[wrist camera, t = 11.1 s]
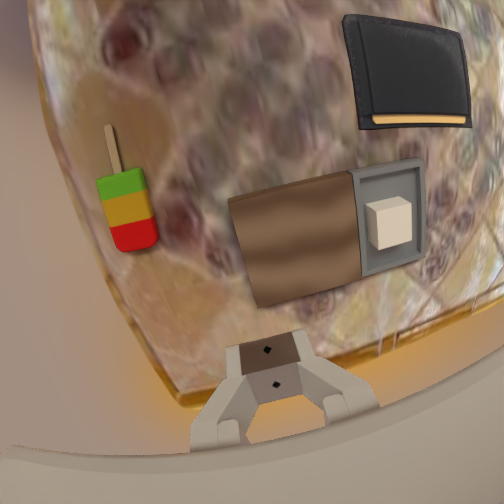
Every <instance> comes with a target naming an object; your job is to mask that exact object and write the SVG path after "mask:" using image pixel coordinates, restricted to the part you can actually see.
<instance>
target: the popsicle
mask: <svg viewBox="0 0 504 504" xmlns="http://www.w3.org/2000/svg"><path fill="white" fill-rule="evenodd" d="M104 133H105V137H106V142H107V146H108V151H109V155H110V159H111V163H112V167H113V171H114V174H113V175H110V176H106V177H103V178H100V179H97V180H96V183H97V187H98V191H99V194H100V198H101V201H102V205H103V208H104V211H105V215H106V218H107V221H108V224H109V227H110V230H111V233H112V237H113V240H114V242H115V245H116V247H117V248H118V250H120V251H121V252H130V251H135V250H140V249H145V248H149V247H152V246H154V245H155V244H156V242H157V241H158V238H159V232H158V228H157V224H156V220H155V217H154V213H153V209H152V206H151V202H150V198H149V194H148V190H147V186H146V182H145V178H144V174H143V170H142V168H140V167H138V168H135V169H131V170H127V171H124V172H123V171H122V167H121V163H120V159H119V155H118V150H117V146H116V142H115V137H114V132H113V127H112V125H111V124H108V125H105V126H104Z"/></svg>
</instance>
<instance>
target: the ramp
mask: <svg viewBox="0 0 504 504" xmlns="http://www.w3.org/2000/svg"><path fill="white" fill-rule="evenodd" d="M228 205H229V209H230V212H231V216H232V219H233V223H234V227H235V230H236V234H237V237H238V241H239V244H240V248H241V251H242V255H243V259H244V262H245V266H246V269H247V273H248V276H249V280H250V283H251V287H252V290H253V294H254V297H255V301H256V304H257V308H262V307H265V306H269V305H273V304H277V303H281V302H284V301H288V300H292V299H295V298H299V297H303V296H306V295H310V294H313V293H317V292H320V291H324V290H327V289H331V288H334V287H338V286H341V285H344V284H348V283H351V282H354V281H358V280H361V263H360V249H359V237H358V226H357V216H356V207H355V198H354V190H353V183H352V175H351V174H350V173H348V172H346V171H342V172H337V173H333V174H328V175H324V176H319V177H315V178H310V179H306V180H301V181H297V182H293V183H289V184H285V185H280V186H276V187H272V188H268V189H264V190H260V191H256V192H252V193H248V194H244V195H241V196H237V197H233V198H229V199H228Z"/></svg>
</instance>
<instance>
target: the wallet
mask: <svg viewBox="0 0 504 504" xmlns="http://www.w3.org/2000/svg"><path fill="white" fill-rule="evenodd" d="M342 27H343V33H344V38H345V43H346V47H347V52H348V57H349V62H350V68H351V74H352V80H353V88H354V95H355V103H356V110H357V117H358V126H359V130H374V129H384V128H399V127H469V128H472V121H471V96H470V85H469V76H468V69H467V62H466V55H465V50H464V45H463V40H462V38H461V36H460V34H459V33H458V32H455V31H452V30H448V29H444V28H440V27H435V26H430V25H425V24H420V23H414V22H408V21H402V20H396V19H390V18H383V17H375V16H368V15H359V14H350V15H345V16H344V18H343V20H342Z"/></svg>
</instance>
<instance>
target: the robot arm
mask: <svg viewBox="0 0 504 504" xmlns="http://www.w3.org/2000/svg"><path fill="white" fill-rule="evenodd" d="M225 359H226V378H227V379H224V380H222V382H221V383H220V385H219V386H218V387H217V389H216V390H215V392H214V393H213V394H212V396H211V397H210V399H209V400H208V401H207V403H206V404H205V406H204V407H203V408H202V410H201V411H200V413H199V414H198V415H197V417H196V418H195V420H194V421H193V422H192V424H191V434H190V452H189V453H178V454H161V455H94V454H79V453H69V452H59V451H51V450H43V449H37V448H30V447H25V446H20V445H11V446H9V447H8V448H7V449H5V450H4V451H3V452H1V453H0V504H504V345H503V346H501V347H499V348H498V349H497V350H495V351H493V352H492V353H490V354H488V355H487V356H485V357H483V358H482V359H480V360H478V361H477V362H475V363H473V364H471V365H470V366H468V367H466V368H464V369H463V370H461V371H459V372H457V373H455V374H453V375H451V376H450V377H447V378H446V379H444V380H442V381H440V382H438V383H436V384H434V385H432V386H429V387H427V388H426V389H423V390H421V391H419V392H416V393H414V394H412V395H410V396H407V397H405V398H403V399H401V400H398V401H396V402H393V403H391V404H388V405H386V406H383V407H380V405H379V403H378V401H377V399H376V397H375V395H374V393H373V391H372V389H371V387H370V385H369V383H368V382H367V381H365V380H363V379H361V378H359V377H357V376H356V375H354V374H352V373H350V372H348V371H346V370H345V369H343V368H341V367H339V366H337V365H336V364H334V363H332V362H330V361H328V360H327V359H325V358H323V357H321V356H318V357H316V355H315V352H314V350H313V347H312V344H311V342H310V339H309V336H308V334H307V331H306V329H305V328H300V329H297V330H294V331H291V332H287V333H283V334H280V335H276V336H272V337H268V338H265V339H260V340H256V341H251V342H246V343H242V344H239V345H233V346H228V347H226V349H225ZM301 394H303V395H304V396H306V397H307V398H308V399H309V400H310V401H312V402H313V403H314V404H315V405H317V406H318V407H319V408H320V409H322V410H323V411H324V418H325V427H321V428H318V429H315V430H311V431H307V432H303V433H300V434H295V435H291V436H287V437H283V438H278V439H274V440H269V441H264V442H259V443H254V444H250V442H249V440H248V438H247V437H246V435H245V434H246V432H247V430H248V428H249V426H250V423H251V421H252V419H253V417H254V415H255V413H256V411H257V409H258V407H259V406H258V405H260V404H264V403H268V402H272V401H276V400H279V399H280V398H281V399H284V398H288V397H292V396H296V395H301Z"/></svg>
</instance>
